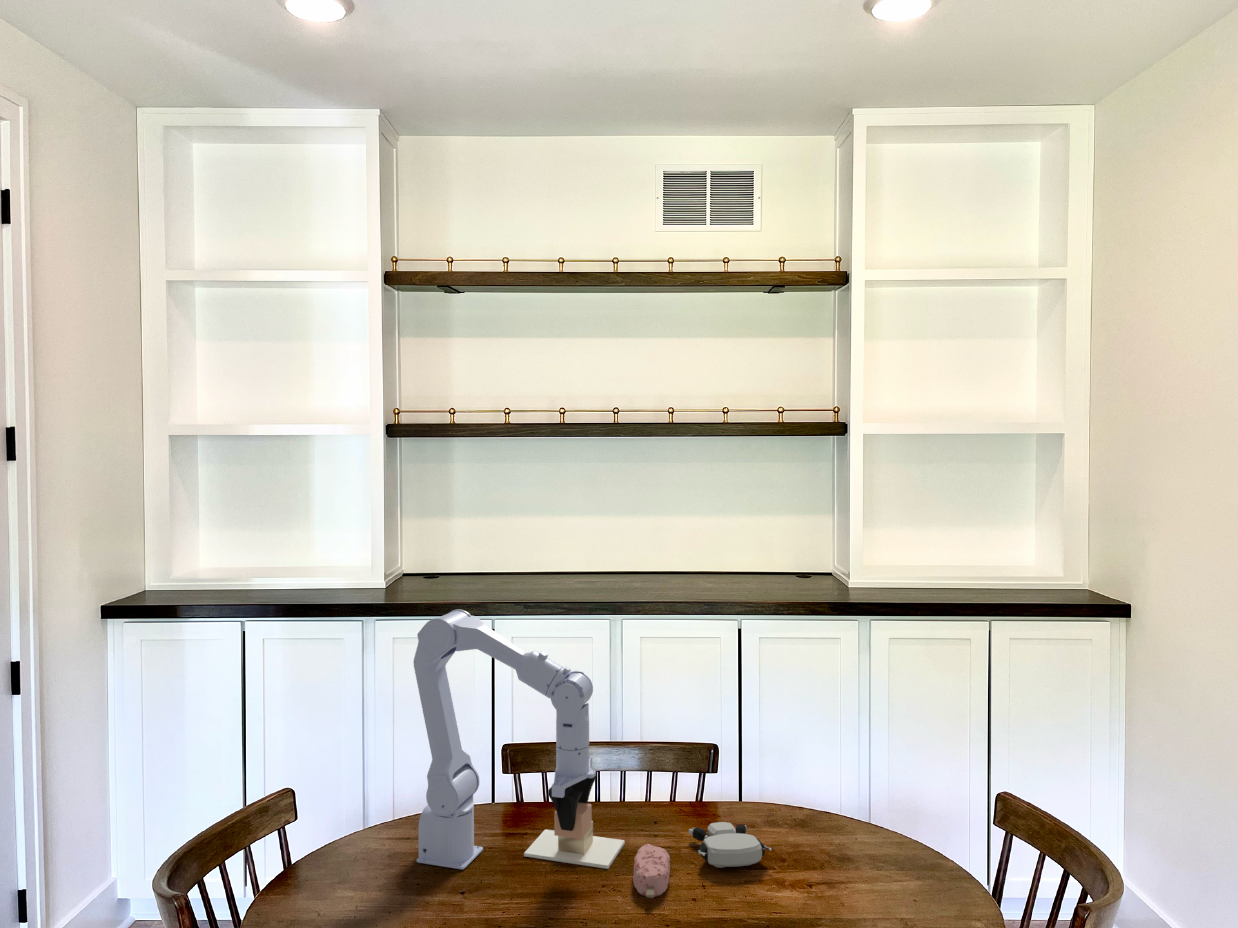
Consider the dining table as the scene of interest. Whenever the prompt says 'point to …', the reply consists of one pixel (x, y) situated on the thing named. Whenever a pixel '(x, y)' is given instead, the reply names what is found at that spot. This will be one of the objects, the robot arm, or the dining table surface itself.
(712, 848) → the robot toy
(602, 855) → the mat
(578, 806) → the terracotta brick
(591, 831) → the ash brick
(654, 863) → the ice cream bar
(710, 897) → the dining table surface
